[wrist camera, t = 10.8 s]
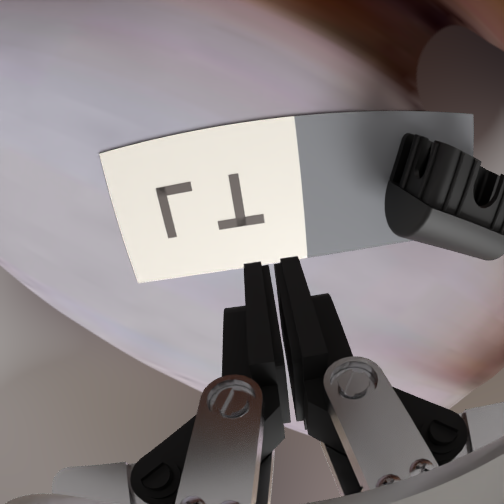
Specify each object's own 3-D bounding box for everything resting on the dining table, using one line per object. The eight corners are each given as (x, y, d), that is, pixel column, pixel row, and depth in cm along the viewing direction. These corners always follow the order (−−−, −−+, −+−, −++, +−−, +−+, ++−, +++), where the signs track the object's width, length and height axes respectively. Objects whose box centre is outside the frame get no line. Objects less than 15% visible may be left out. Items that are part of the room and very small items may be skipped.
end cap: (371, 213, 24) (411, 253, 18) (398, 128, 21) (451, 144, 15) (456, 238, 25) (499, 274, 19) (481, 168, 22) (533, 193, 16)
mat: (293, 116, 20) (294, 116, 20) (472, 114, 20) (473, 114, 20) (307, 257, 25) (307, 257, 25) (465, 230, 25) (466, 231, 25)
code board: (99, 153, 20) (99, 153, 20) (293, 116, 20) (294, 116, 20) (138, 282, 25) (138, 283, 25) (307, 257, 25) (307, 258, 25)
